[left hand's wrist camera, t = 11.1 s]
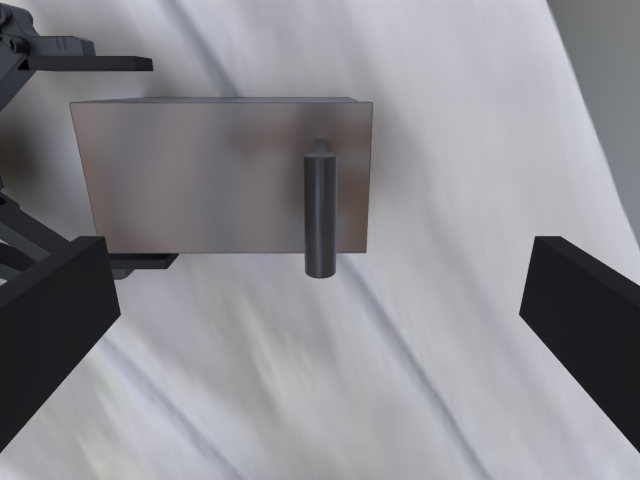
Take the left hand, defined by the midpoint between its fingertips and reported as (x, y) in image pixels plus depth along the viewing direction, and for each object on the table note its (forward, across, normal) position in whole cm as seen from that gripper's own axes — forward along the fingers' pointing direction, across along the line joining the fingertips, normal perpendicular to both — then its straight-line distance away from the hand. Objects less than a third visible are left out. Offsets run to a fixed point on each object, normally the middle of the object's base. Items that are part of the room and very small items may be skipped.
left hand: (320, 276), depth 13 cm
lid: (+14, +6, 0) cm, 15 cm away
